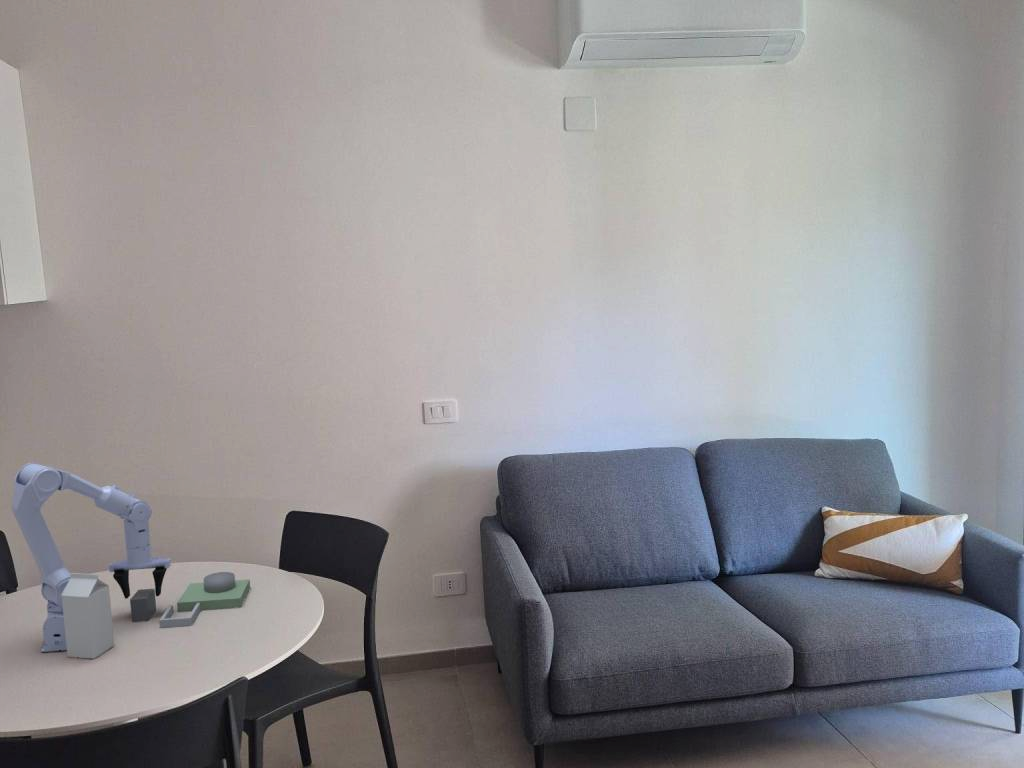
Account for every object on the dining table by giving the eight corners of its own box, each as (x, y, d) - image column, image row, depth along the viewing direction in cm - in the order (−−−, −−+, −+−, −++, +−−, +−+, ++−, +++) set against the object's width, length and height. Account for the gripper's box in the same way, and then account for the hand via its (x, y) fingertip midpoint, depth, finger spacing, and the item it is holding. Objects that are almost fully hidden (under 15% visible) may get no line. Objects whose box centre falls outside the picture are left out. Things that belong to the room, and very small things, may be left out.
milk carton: (94, 659, 194) (86, 580, 192) (67, 657, 196) (59, 578, 193) (114, 646, 201) (107, 569, 199) (88, 644, 203) (81, 567, 200)
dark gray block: (148, 621, 216) (146, 598, 215) (132, 622, 215) (130, 599, 214) (156, 610, 222) (154, 588, 222) (140, 611, 222) (138, 589, 221)
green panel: (233, 622, 213) (231, 601, 212) (159, 627, 211) (158, 606, 210) (250, 587, 237) (248, 569, 236) (184, 592, 234) (182, 573, 234)
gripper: (171, 538, 221) (176, 588, 223) (113, 542, 219) (118, 592, 221) (164, 546, 214) (169, 598, 216) (104, 551, 212) (109, 602, 214)
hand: (142, 596), depth 218 cm, fingers open, 7 cm apart
